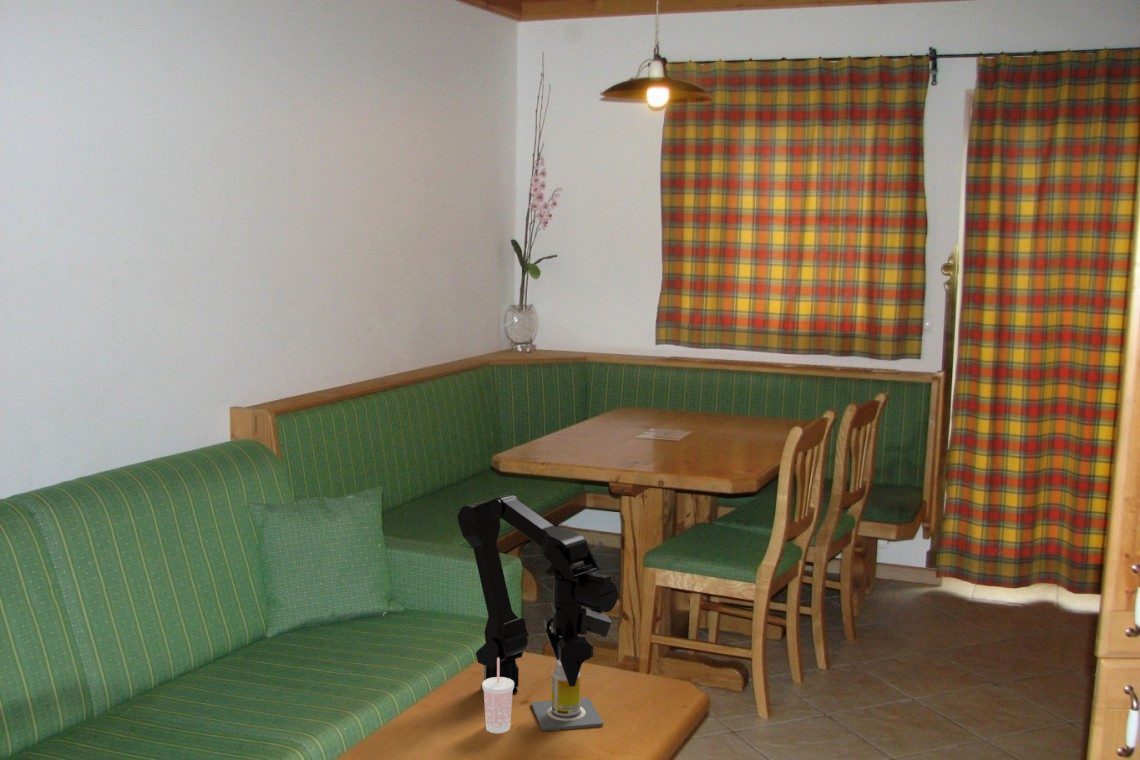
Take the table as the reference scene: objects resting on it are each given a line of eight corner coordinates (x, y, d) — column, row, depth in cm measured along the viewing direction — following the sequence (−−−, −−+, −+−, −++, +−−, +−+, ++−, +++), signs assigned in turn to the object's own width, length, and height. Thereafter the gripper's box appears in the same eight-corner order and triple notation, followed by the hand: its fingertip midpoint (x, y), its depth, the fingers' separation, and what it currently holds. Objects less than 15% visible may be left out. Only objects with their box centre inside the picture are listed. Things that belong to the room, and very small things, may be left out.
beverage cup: (518, 723, 213) (519, 654, 211) (506, 737, 207) (507, 666, 205) (489, 718, 215) (489, 650, 213) (476, 732, 209) (477, 661, 207)
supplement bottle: (585, 712, 216) (586, 662, 215) (563, 720, 213) (564, 669, 211) (567, 703, 220) (568, 654, 219) (546, 710, 217) (546, 660, 216)
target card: (541, 731, 210) (542, 727, 209) (531, 704, 221) (531, 701, 221) (603, 726, 212) (603, 722, 212) (589, 700, 224) (589, 697, 224)
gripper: (620, 613, 206) (619, 693, 208) (597, 582, 224) (596, 656, 226) (562, 617, 204) (561, 697, 206) (543, 585, 222) (543, 660, 224)
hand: (567, 676), depth 215 cm, fingers open, 9 cm apart
